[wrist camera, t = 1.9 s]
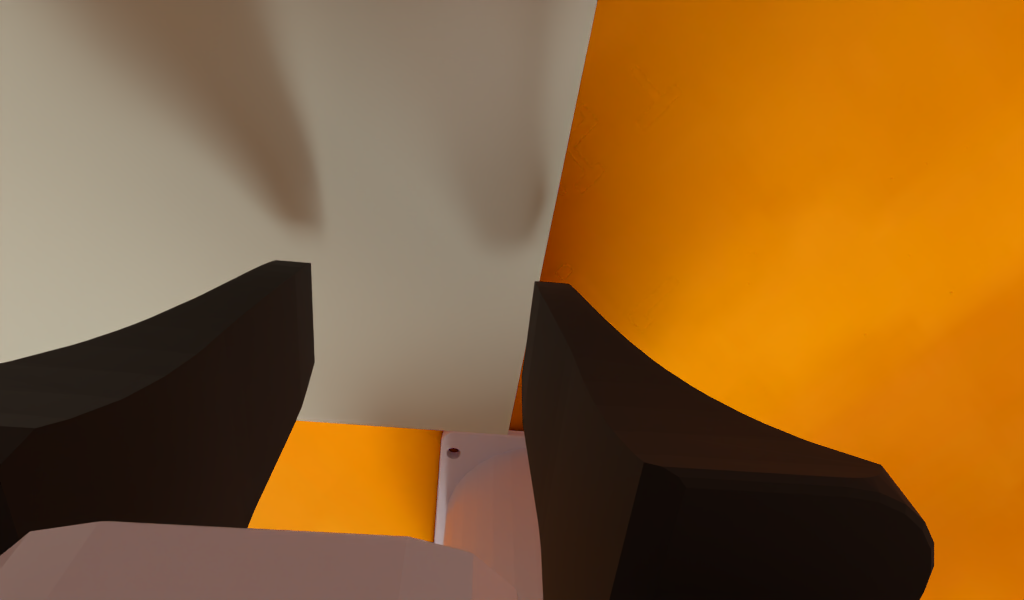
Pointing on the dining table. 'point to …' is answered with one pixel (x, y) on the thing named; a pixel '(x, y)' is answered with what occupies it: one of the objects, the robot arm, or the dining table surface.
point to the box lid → (294, 180)
